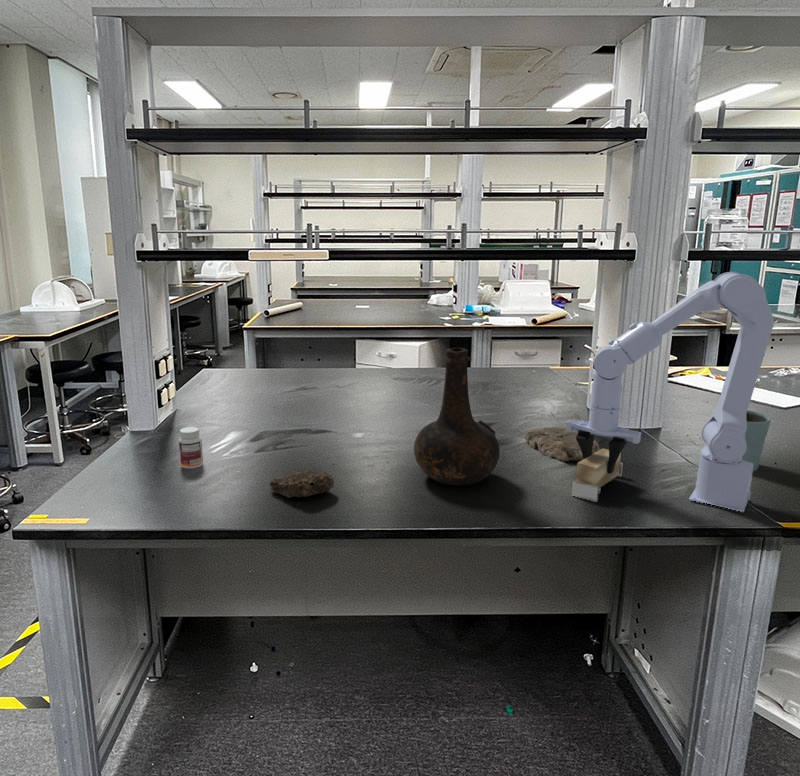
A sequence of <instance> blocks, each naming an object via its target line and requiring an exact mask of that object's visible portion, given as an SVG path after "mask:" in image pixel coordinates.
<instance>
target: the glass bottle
mask: <svg viewBox="0 0 800 776" xmlns="http://www.w3.org/2000/svg"><path fill="white" fill-rule="evenodd" d="M445 351H446V352H445V354H446V355H445V356H443V357H442V358H441V359H442V361H443V362H445V374H444V385H443V386H444V387H443V395H442V402H441V407H440V412H439V415H438V418H437V419H436V420H435V421H432V422H430V423H428V424H427V425H425V426H424V427H423V428H422V429H421V430H420V431H419V432H418V434H417V436H416V437H415V440H414V445H413V453H414V458H415V460H416V463H417V465H418V466H419V468H420V469H421V471H423V473H424V474H425V475H427V477H429V478H430V479H432V480H433V481H436V482H438V483H440V484H443V485H450V486H469V485H473V484H476V483H478V482H481V481H483V480H485V479H486V478H487V477H489V476H490V474H492V472H493V471H494V470H495V468H496V466H497V464H498V462H499V460H500V451H501V450H500V444H499V441H498V438H497V437H496V431H494V429H493V428H491V426H489V425H488V424H487V423H485V422H484V421H483V420H478V421H475V420H474V417H473V414H472V410H471V403H470V396H469V384H468V383H469V382H468V379H469V378H468V377H469V376H468V362H470V361H471V360H472V358H471V357H470V356H468V352H469V350H468V349H467V348H463V347H452V348H447V349H446V350H445Z"/></svg>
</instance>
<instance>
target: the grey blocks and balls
mask: <svg viewBox="0 0 800 776" xmlns="http://www.w3.org/2000/svg"><path fill="white" fill-rule="evenodd" d="M623 464H624V462H620V467H619V475H618V476H616V478H617V477H618V478H621V477H622V474H623V466H624V465H623ZM612 482H613V479H612V480H611V481H609V482H608V483H612ZM598 494H599V495H601V487H600V488H599V487H598V486H594V485H590V484H586V483H581V482H577V481H576V480H573V481H572V486H571V496H570V497H573V496H575V497H574V498H577V497H578V499H581V498H582V499H581V500H585V499H586V501H589V500H590V502H594V503H597V502H598V501H599V495H598Z"/></svg>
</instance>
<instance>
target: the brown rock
mask: <svg viewBox="0 0 800 776" xmlns="http://www.w3.org/2000/svg"><path fill="white" fill-rule="evenodd" d="M334 483H335V479H334V477H333V476H332V474H331V473H330V472H326V471H324V472H319V471H314V470H311V469H310V470H307V469H306V470H303V471H299V472H295V473H291V474H287V475H283V476H282V477H281V476H280V477H276V478H274V479H273V480H271V481H270V482H269V485H270V491H272V492H274V493H276V494H279V495H282V496H284V497H286V498H287V499H289V498H292V497H293V498H294V497H297V498H299V499H300V498H301V497H303V498H305V497H310V496H315V495H317V494H323V493H328V492H330V490H331V489H332V488H334V487H335V486H334Z"/></svg>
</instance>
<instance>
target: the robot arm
mask: <svg viewBox="0 0 800 776" xmlns="http://www.w3.org/2000/svg"><path fill="white" fill-rule="evenodd" d="M720 305H721V306H722V307H724V308H725V309H727V311H729V312H730V314H731V315H732V316H733V317H734V319H735V320H736V321H737V323H738V324H739V325H740V327H739V331H738V335H737V338H736V341H735V345H734V348H733V352H732V354H731V358H730V362H729V364H728V369H727V373H726V375H725V378H724V382H723V386H722V388H721V389H722V390H721V391H720V392H721V393H720V397H719V399H718V403H717V405H716V406H715V408H714V409H713V410H712V412H711V416H710V418H709V419H708V421H706V423H704V425H703V426H702V428H701V438H702V440H703V442H704V443H705V445H704V446H703V447H702V449H701V450H700V452H699V453H700V454H699V461H698V466H697V467H698V468H697V475H696V482H695V489H694V490H693V492H692V493H691V495H690V496H689V501H691V502H694V501H696V502H695V503H699V502H700V503H699V504H703V503H705V504H704V505H707V504H711V505H710V506H712V505H716V506H720V507H725V508H728V509H727V510H729V509H732V510H731V511H733V510H736V511H735V512H738V511H740V512H739V513H745V509H746V508H745V507H747V505H748V501H750V500H751V499H750V498H751V496H752V495H751V493H752V492H751V485H752V478H753V472H754V471H753V463H750V462H747V461H744V460H742V456H743V455H744V454H745V452H746V448H747V444H746V440H745V433H746V429H747V420H746V413H747V410H748V411H749V407H750V403H751V400H752V397H753V393H754V390H755V387H756V384H757V381H758V377H759V374H760V370H761V367H762V364H763V360H764V357H765V354H766V350H767V347H768V345H769V340H770V338H771V333H772V332H773V327H774V326H775V325H774V324H775V319H774V316H773V313H772V310H771V308H770V304H769V302H768V299H767V296H766V290H765V287H763V286H762V285H761V284H760V283H759V282H758V281H757V280H756V279H755V278H754V277H752V276H751V275H748V274H745V273H744V274H743V273H739V272H736V271H727V272H723V273H721V274H719V275H717V276H716V277H715V278H714V279H713V280H710V281H707V282H706V283H704V284H702V285H701V286H699V287H698V288H696V289H695V290H694V291H691V292H690V293H689V294H688V295H687V296H685V297H684V298H682V299H681V300H680V301H678V302H677V303H676V304H674V305H673V306H672V307H670V308H669V309H668V310H666V311H664V313H662V314H661V315H660V316H658V317H657V318H655V320H653V321H651V322H650V321H649V322H648V321H647V322H646V321H640V322H639V323H637V324H636V323H635V322H633V323H632V324H630V325H629V326H628V327H629V330H627V331H626V332H624V333H623V334H621V335H620V336H618V337H617V338H616V339H610V340H609V341H607V342H608V343H607V344H608V345H605V346H602V347H600V348H598V349H597V351H596V352H595V354H594V357H593V358H592V361H593V362H592V363H593V366H594V367H593V368H594V373H593V375H592V380H593V381H592V383H591V392H590V402H589V403H590V404H589V413H588V421H587V420H576V419H574V420H573V419H568V421H566V426H565V427H566V430H567V431H577V432H578V435H577V436H576V440H577V442H578V444H579V446H580V449H581V452H582V455H583V459H585V458H587V457H589V456H590V455H592V448H593V442H594V441H595V436H598V437H600V436H601V437H604V438H610V439H611V440H609V442H608V450H609V461H608V468H607V473H610V474H611V473H612V472H613V471H614V467H615V464H616V461H617V459H618V457H619V455H620V453H621V454H622V450H623V449H624V448H625V446H626V445H627V443H628V442H631V443H632V444H636V445H638V444H639V443H640V442H641V438H642V432H640V431H636V430H632V429H629V428H625V427H623V426H619V422H620V421H619V420H620V412H621V411H620V409H621V401H622V388H623V385H622V376H623V374H624V372H626V369H627V366H628V365H632V364H634V363H636V362H638V361H639V360H640V359H642V358H643V357H645V356H646V355H648V354H649V353H650V352H652V351H653V350H655V349H657V348H658V347H659V346H660V345H661V341H662V337H663V335H666V334H667V333H669V332H671V331H673V330H674V329H675V328H676V327H678V326H680V325H681V324H683V323H685V322H686V321H689V320H690V319H691V318H693V317H694V316H697V314H699V313H701V312H712V311H720V310H721V306H720ZM706 503H707V504H706ZM716 506H715V507H716ZM720 507H719V508H720ZM725 508H724V509H725Z"/></svg>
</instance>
